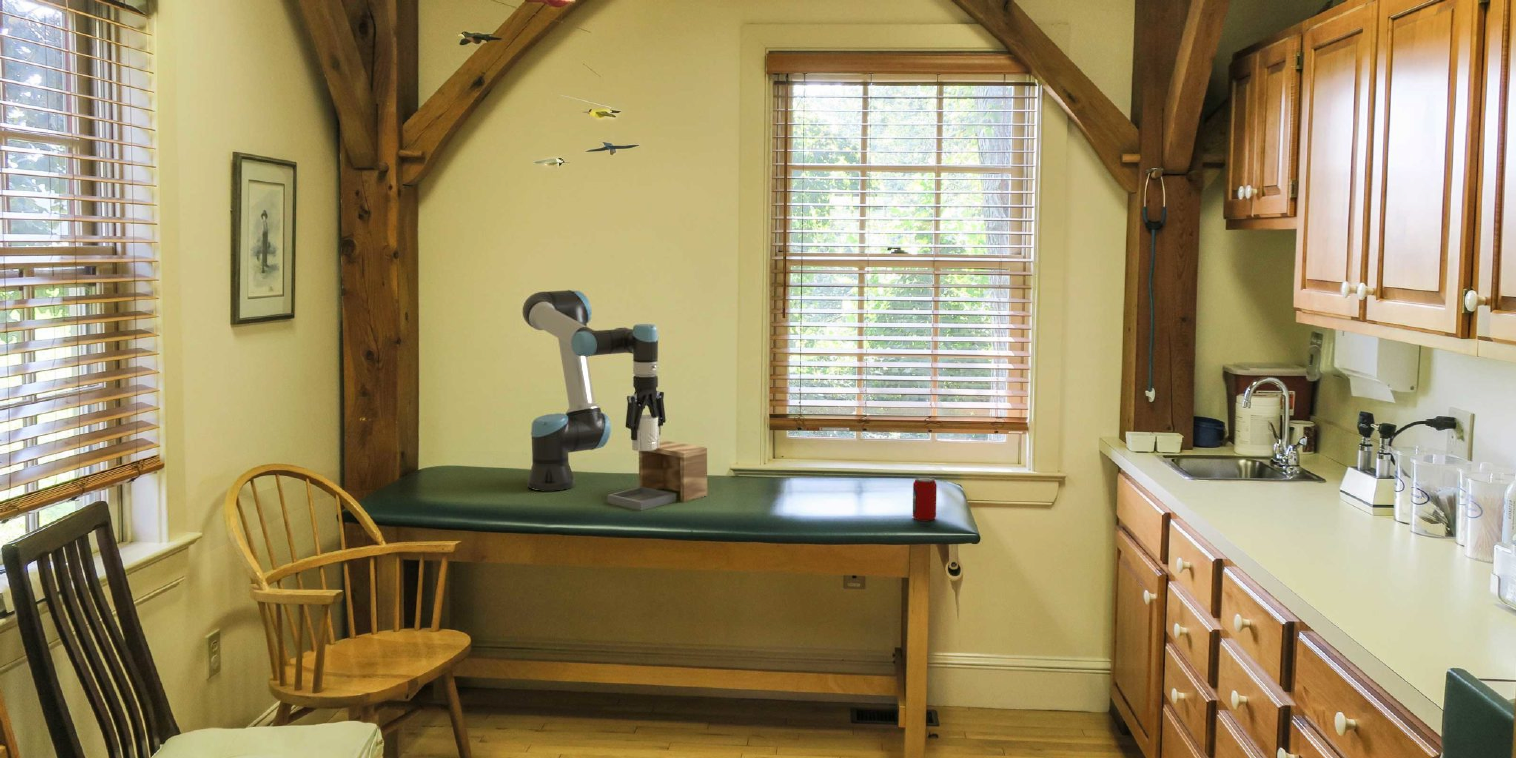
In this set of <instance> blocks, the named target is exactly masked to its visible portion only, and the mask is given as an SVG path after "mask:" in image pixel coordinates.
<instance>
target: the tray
mask: <svg viewBox="0 0 1516 758" xmlns="http://www.w3.org/2000/svg"><path fill="white" fill-rule="evenodd" d="M606 495H607V496H606V500H607V501H606V502H607V504H610V505H615V506H619V507H624V508H629V509H633V510H638V511H644V510H648V509H652V508H656V507H659V506H664V505H668V504H671V503H675V502H677V493H676V492H670V491H666V490H665V491H664V490H661V489H652V488H647V487H643V486H642V487H639V486H638V487H634V488H630V489H626V490H623V491H617V492H614V493H609V494H606Z"/></svg>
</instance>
